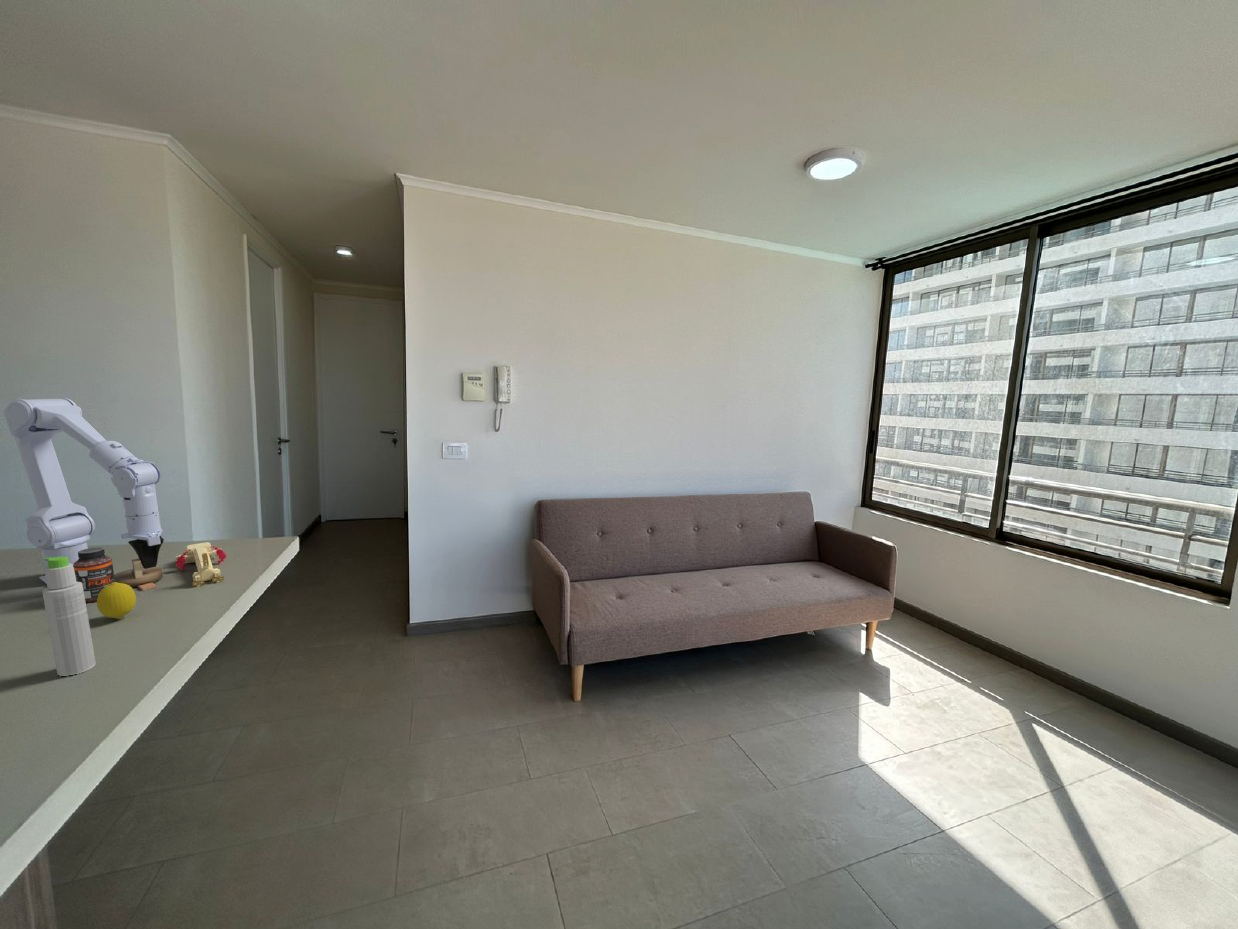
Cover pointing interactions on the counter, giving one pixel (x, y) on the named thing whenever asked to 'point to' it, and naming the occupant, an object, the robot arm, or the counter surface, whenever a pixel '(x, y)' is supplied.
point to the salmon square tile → (147, 586)
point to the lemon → (116, 600)
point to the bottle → (67, 618)
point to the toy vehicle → (202, 562)
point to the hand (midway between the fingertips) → (150, 567)
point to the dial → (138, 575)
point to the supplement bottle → (93, 572)
